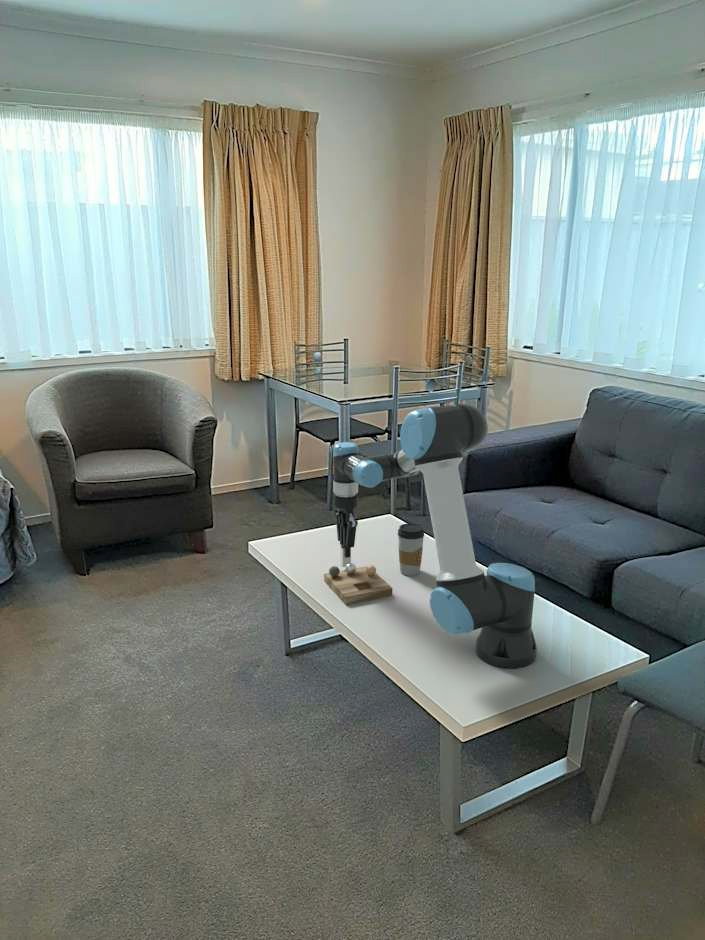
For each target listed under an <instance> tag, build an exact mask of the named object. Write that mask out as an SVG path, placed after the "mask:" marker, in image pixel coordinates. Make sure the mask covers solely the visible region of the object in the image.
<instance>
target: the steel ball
mask: <svg viewBox="0 0 705 940" xmlns="http://www.w3.org/2000/svg"><path fill="white" fill-rule="evenodd" d="M356 568H357V566H356V564H355V563H353V562H351V563H348V564H347V565H346V566H345V567H344V570H345V571H346V572H347V573H348V574H353V573H354V572H355V571H356Z"/></svg>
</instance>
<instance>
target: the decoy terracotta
mask: <svg viewBox="0 0 705 940" xmlns="http://www.w3.org/2000/svg"><path fill="white" fill-rule="evenodd" d="M366 566H367V568H366V573H367V574H368V575H370V576H372V575H374V574H375V573H377V568H376V566H374V565H372V564H370V565H366Z"/></svg>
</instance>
